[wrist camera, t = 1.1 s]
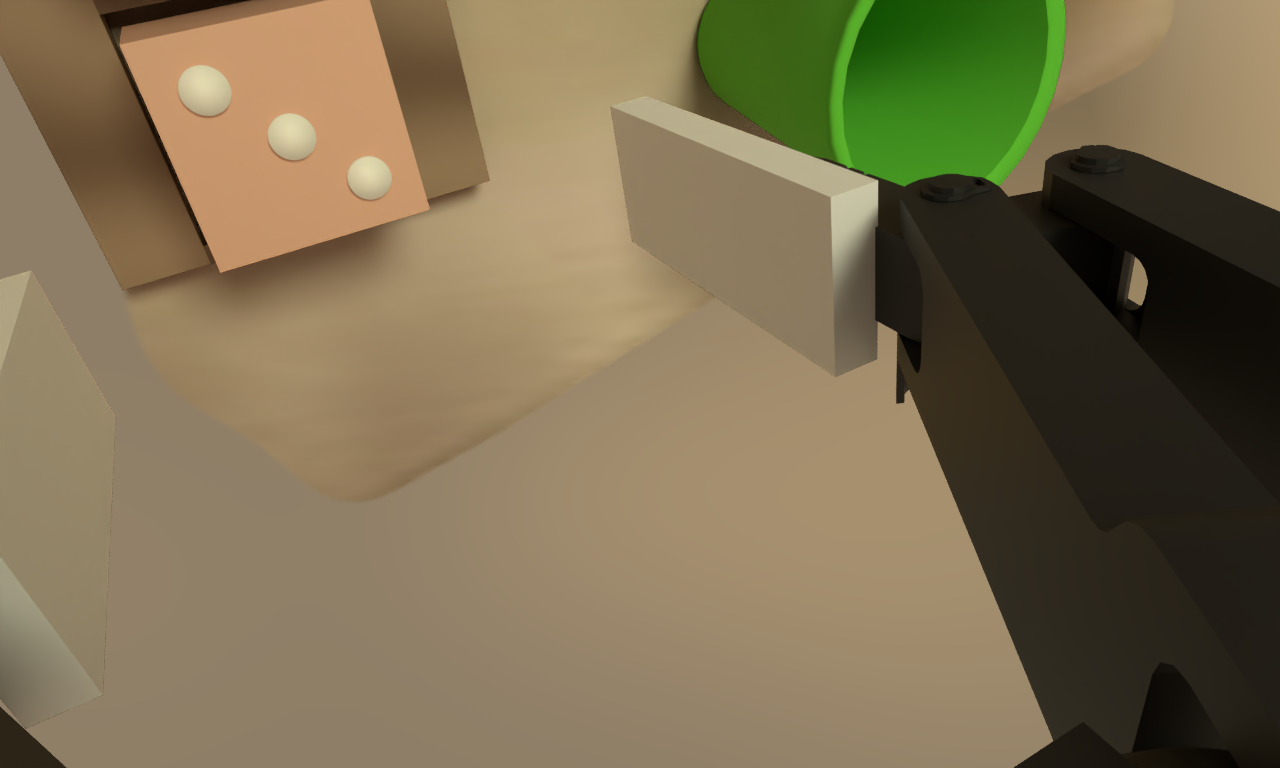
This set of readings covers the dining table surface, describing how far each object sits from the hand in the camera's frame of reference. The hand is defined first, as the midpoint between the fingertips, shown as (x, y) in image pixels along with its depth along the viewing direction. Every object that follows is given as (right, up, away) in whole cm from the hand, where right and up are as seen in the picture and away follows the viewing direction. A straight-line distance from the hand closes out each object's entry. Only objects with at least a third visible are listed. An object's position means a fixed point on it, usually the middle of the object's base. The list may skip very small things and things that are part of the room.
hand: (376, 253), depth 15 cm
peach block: (-6, +6, +11) cm, 14 cm away
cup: (+9, +11, +19) cm, 24 cm away
